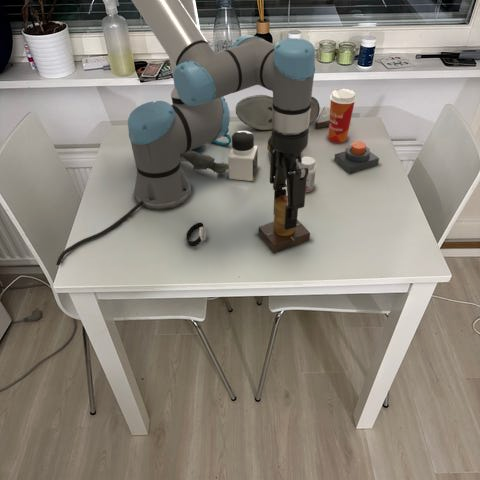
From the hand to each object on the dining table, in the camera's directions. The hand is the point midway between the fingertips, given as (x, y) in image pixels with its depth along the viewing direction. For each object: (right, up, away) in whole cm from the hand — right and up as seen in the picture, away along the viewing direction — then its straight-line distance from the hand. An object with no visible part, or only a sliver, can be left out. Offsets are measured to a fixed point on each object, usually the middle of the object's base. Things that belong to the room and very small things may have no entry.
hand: (284, 220), depth 113 cm
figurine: (0, +24, +23) cm, 34 cm away
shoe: (+2, +42, +36) cm, 55 cm away
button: (+23, +25, +23) cm, 41 cm away
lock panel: (0, -3, +4) cm, 5 cm away
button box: (+23, +22, +26) cm, 42 cm away
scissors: (-14, +33, +30) cm, 47 cm away
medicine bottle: (-10, +18, +24) cm, 31 cm away
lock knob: (0, -2, +2) cm, 3 cm away
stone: (+19, +40, +44) cm, 62 cm away
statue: (-39, +30, +29) cm, 57 cm away
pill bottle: (+7, +13, +18) cm, 23 cm away
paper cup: (+20, +33, +35) cm, 52 cm away
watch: (-22, -4, +5) cm, 23 cm away
